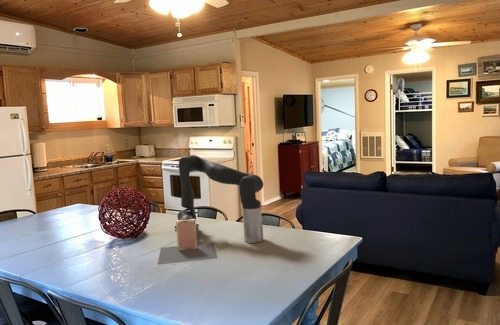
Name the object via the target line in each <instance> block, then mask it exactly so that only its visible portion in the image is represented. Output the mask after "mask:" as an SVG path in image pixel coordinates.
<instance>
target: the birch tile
mask: <svg viewBox="0 0 500 325" xmlns="http://www.w3.org/2000/svg"><path fill="white" fill-rule="evenodd" d="M196 224H197V223H196V220H195V219H189V220H178V219H177V220H176V221H175V226H176V227H177V231H176V237H177V238H176V239H177V240H176V241H177V246H178V250H187V249H197V244H198V240H197V230H196Z"/></svg>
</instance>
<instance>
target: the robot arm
mask: <svg viewBox="0 0 500 325" xmlns="http://www.w3.org/2000/svg"><path fill="white" fill-rule="evenodd" d="M178 171H179V179H180V187H181V190H180V191H181V196H180V197H181V198H180V202H181V204H180V205H181V207H182V208H183V209H188V210H180V211H179V212H177V220H189V219H195V221H196V220H197V215H196V214H197V213H196V210H195V205H194V204H195V192H194V189H193V187H192V184H191V182H190V173H192V172H201V173H203V174H205V175H206V176H207V177H208V178H209V179H210V180H212V181H213V182H217V183H219V184H224V185H236V186H238V187H239V198H240V203H241V205H242V222H243V240H244V242H245V243H249V244H255V243H256V244H257V243H261V242H264V225H263V222H262V221H263V220H262V204H261V203H262V202H261V201H260V200H258V199H257V197H256V194H257V193H258V192H261V190H262V189H263V187H264V182H263V179H262V178H261V177H260V176H259V175H257V174H253V173H247V172H243V171H240V170H237V169H234V168H231V167H228V166H226V165H222V164H220V163H216V162H214V161H210V160H207V159H204V158H202V157H200V156H198V155H195V154H189V155H185V156H182V157H180V158H179V160H178ZM199 228H200V224H199V223H196V231H198V230H200V229H199ZM174 232H177V227H176V225H175V226H174Z"/></svg>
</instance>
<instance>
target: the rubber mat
mask: <svg viewBox="0 0 500 325" xmlns="http://www.w3.org/2000/svg"><path fill="white" fill-rule="evenodd" d="M157 259H158V261H157V263H156V264H157V265H158V266H160V265H163V267H164V266H167V265H166V264H173V265H175V266H176V264H177V263H178V264H179V263H183V264H186V263H188V262H192V264H193V263H195V262H196V261H202V263H203V262H204V261H205V260H207V261H208V260H211V261H213V262H214V260H215V259H218V254H217V250H216V245H215V242H207V243H197V249H187V250H178V245H175V246H164V247H160V251H159V255H158V258H157Z"/></svg>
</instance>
